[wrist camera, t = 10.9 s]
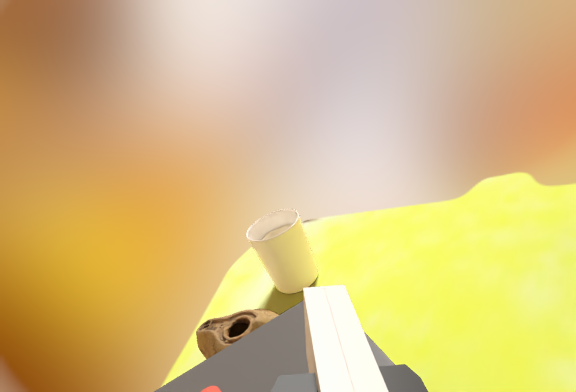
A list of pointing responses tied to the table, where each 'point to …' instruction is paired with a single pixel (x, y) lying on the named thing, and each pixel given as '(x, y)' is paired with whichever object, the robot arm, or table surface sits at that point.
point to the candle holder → (284, 250)
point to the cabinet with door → (257, 359)
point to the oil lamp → (230, 329)
